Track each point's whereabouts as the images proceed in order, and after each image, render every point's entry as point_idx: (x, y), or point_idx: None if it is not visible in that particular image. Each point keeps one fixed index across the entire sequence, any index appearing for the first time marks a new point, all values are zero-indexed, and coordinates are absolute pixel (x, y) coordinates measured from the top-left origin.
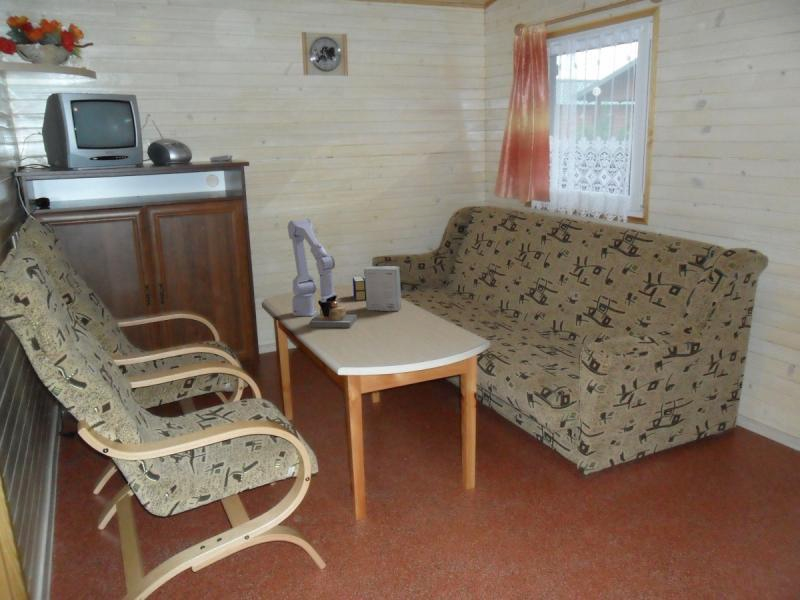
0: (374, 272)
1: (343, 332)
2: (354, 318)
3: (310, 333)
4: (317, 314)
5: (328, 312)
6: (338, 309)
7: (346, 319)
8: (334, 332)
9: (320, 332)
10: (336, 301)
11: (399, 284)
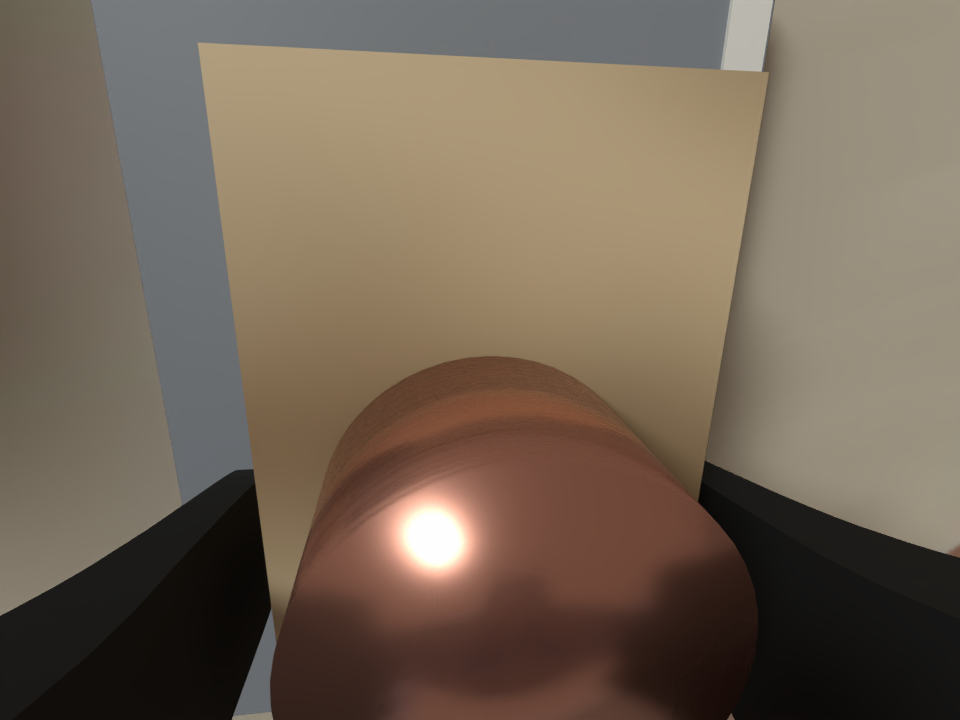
0: None
1: (944, 41)
2: None
3: (879, 512)
4: (239, 708)
5: (750, 488)
6: (729, 235)
7: (552, 44)
8: (909, 203)
9: (865, 406)
10: (483, 495)
11: None
